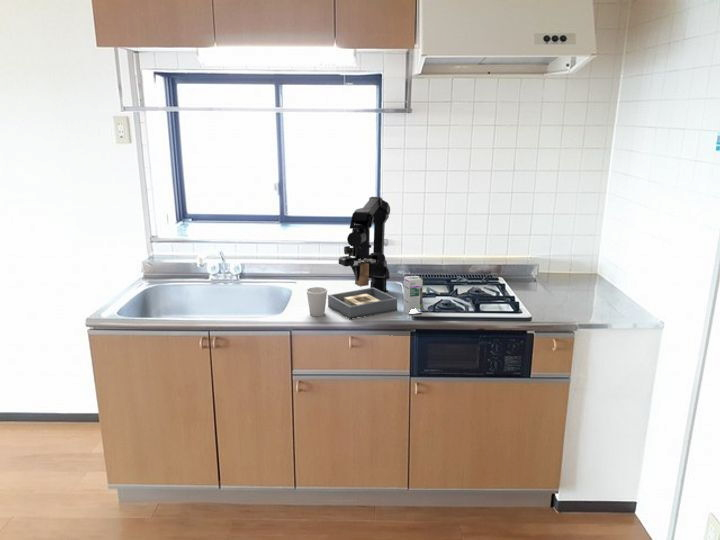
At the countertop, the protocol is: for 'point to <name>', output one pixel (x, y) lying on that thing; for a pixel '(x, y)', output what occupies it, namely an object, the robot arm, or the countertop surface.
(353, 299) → the birch bore plate
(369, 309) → the charcoal tray
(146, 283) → the countertop surface
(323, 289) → the dixie cup
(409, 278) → the syrup box
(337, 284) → the countertop surface
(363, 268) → the walnut peg
